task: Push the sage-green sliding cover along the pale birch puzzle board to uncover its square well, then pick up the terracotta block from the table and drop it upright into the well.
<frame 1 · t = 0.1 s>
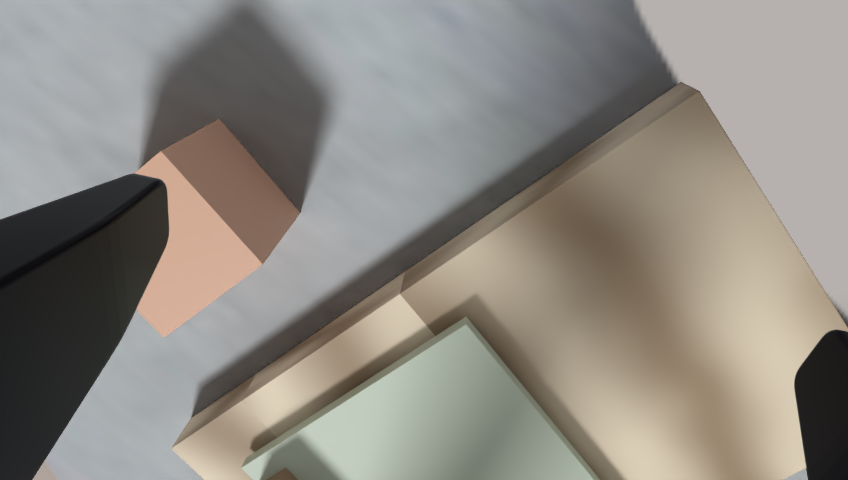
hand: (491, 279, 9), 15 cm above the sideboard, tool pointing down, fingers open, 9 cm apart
puzzle board: (515, 404, 28), on the sideboard
block: (218, 200, 26), on the sideboard
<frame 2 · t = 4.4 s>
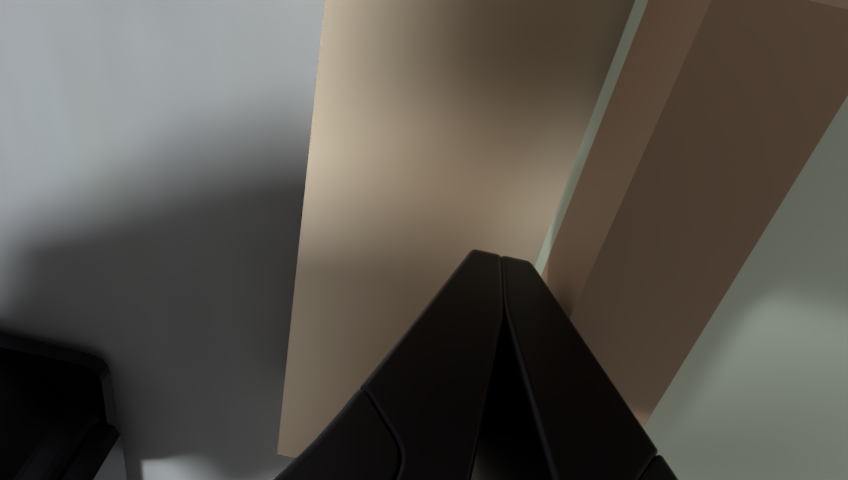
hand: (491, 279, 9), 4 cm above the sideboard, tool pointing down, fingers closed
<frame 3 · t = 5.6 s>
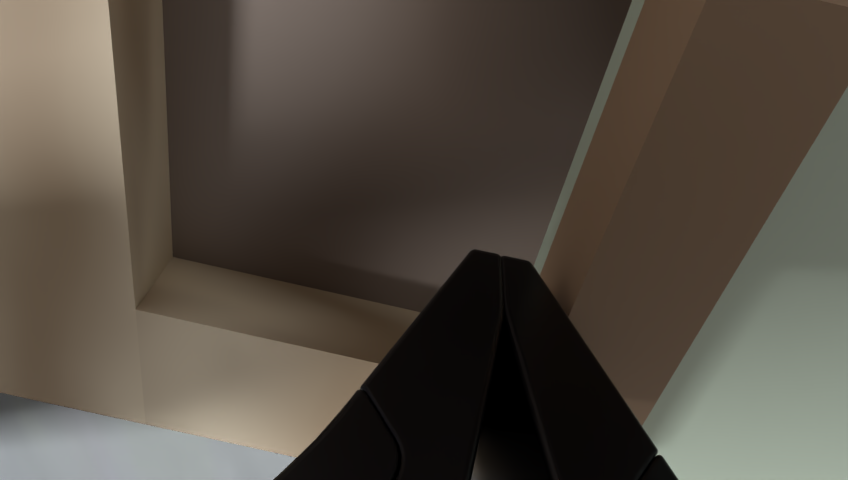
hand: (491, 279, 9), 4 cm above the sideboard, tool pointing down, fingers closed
puzzle board: (602, 173, 12), on the sideboard
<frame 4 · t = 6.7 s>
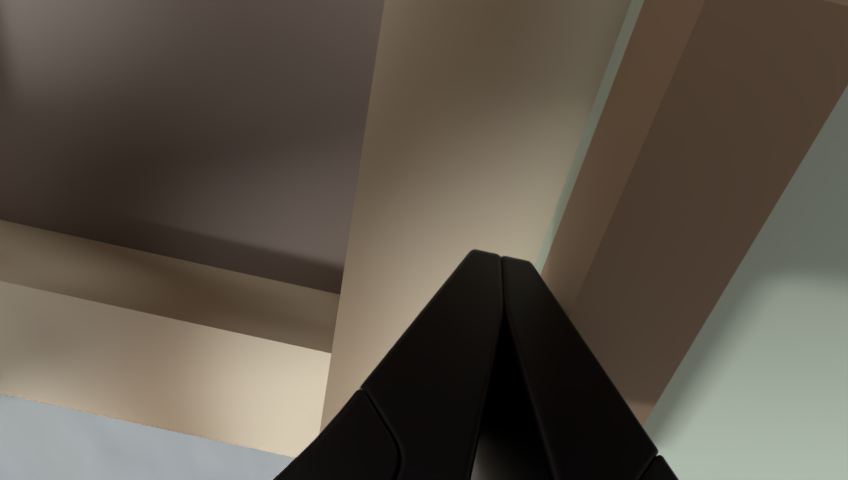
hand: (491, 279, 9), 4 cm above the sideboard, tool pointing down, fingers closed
puzzle board: (379, 123, 12), on the sideboard
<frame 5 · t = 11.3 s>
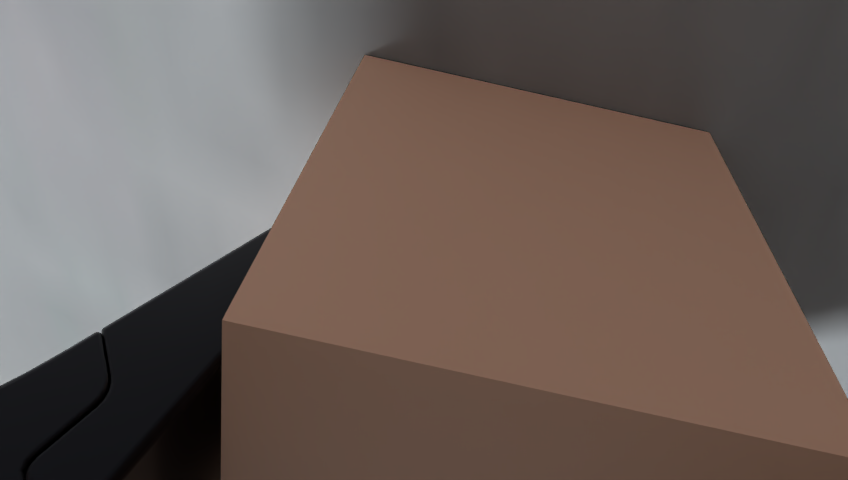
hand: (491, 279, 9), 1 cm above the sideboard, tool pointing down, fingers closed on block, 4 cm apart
block: (494, 234, 10), on the sideboard, touching gripper
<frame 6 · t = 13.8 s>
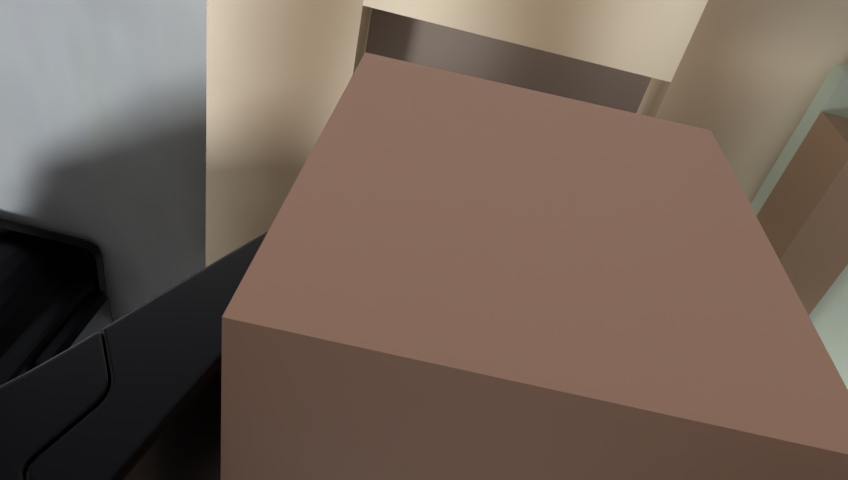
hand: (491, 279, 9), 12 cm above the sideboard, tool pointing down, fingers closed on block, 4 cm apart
puzzle board: (606, 175, 21), on the sideboard
block: (495, 232, 10), point 11 cm above the sideboard, touching gripper
when the fingers open (3 cm above the sideboard, at t = 16.6 s): block drops 2 cm, resting on puzzle board.
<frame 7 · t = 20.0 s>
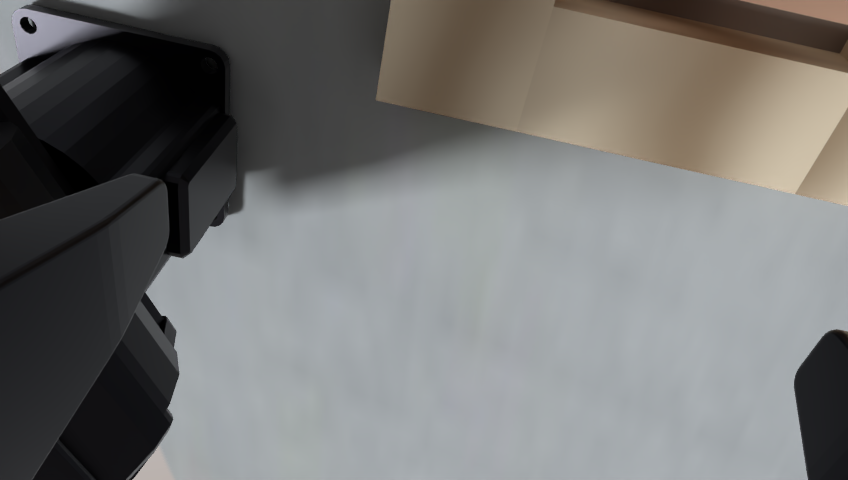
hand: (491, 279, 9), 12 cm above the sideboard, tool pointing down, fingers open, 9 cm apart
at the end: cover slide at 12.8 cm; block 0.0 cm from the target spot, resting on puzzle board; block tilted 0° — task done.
